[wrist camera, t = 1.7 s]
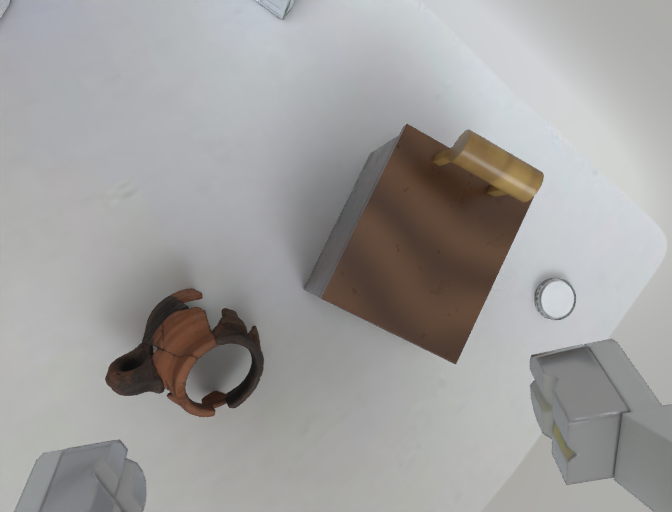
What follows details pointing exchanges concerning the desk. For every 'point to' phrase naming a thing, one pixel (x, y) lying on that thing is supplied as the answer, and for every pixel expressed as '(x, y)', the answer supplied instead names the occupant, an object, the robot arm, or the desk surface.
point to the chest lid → (433, 238)
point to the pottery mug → (184, 354)
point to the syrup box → (278, 6)
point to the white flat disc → (555, 299)
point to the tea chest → (348, 219)
